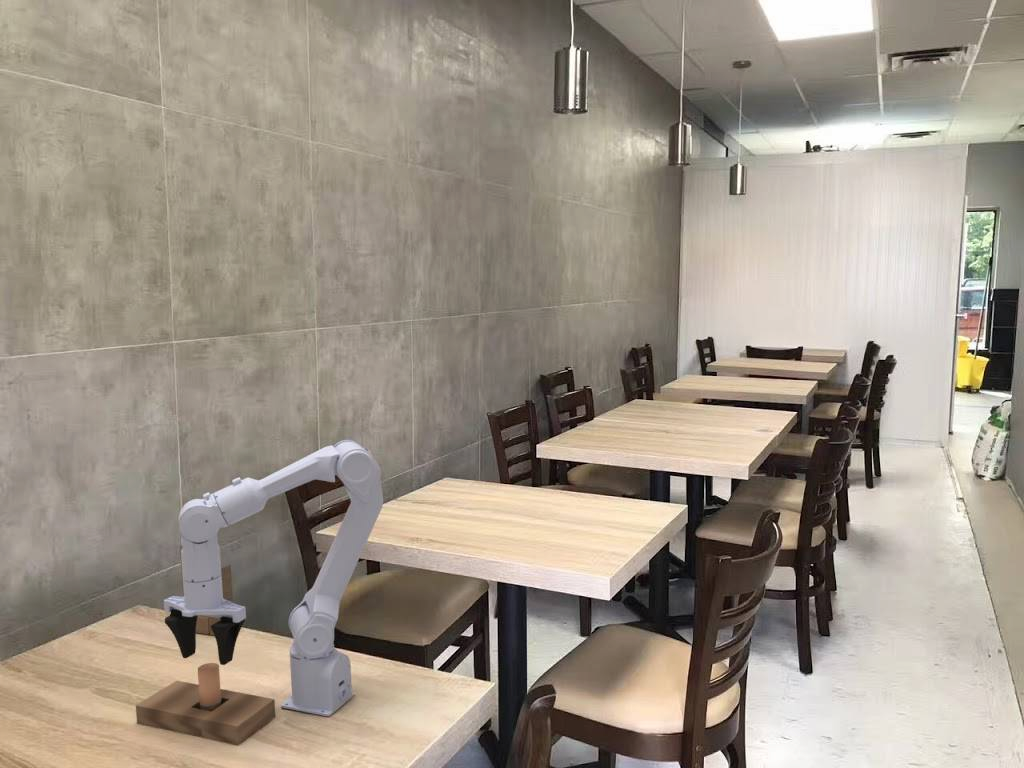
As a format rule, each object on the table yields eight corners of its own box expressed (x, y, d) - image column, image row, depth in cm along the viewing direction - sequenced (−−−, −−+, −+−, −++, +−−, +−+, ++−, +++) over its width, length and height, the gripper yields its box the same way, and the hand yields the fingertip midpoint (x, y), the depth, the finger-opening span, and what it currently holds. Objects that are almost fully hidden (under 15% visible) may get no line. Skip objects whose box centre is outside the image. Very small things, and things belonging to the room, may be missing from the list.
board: (275, 716, 135) (274, 699, 135) (238, 745, 127) (237, 726, 126) (178, 697, 142) (176, 680, 142) (136, 723, 134) (135, 705, 133)
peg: (226, 717, 135) (223, 664, 134) (213, 727, 132) (210, 673, 131) (209, 714, 136) (206, 661, 135) (196, 724, 133) (192, 670, 132)
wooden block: (223, 638, 167) (218, 550, 165) (180, 631, 170) (174, 545, 168) (235, 630, 170) (230, 545, 168) (193, 624, 174) (187, 540, 172)
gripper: (147, 579, 130) (153, 663, 132) (222, 589, 125) (227, 676, 127) (180, 565, 137) (185, 645, 138) (252, 574, 132) (257, 657, 133)
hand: (207, 659), depth 133 cm, fingers open, 7 cm apart
